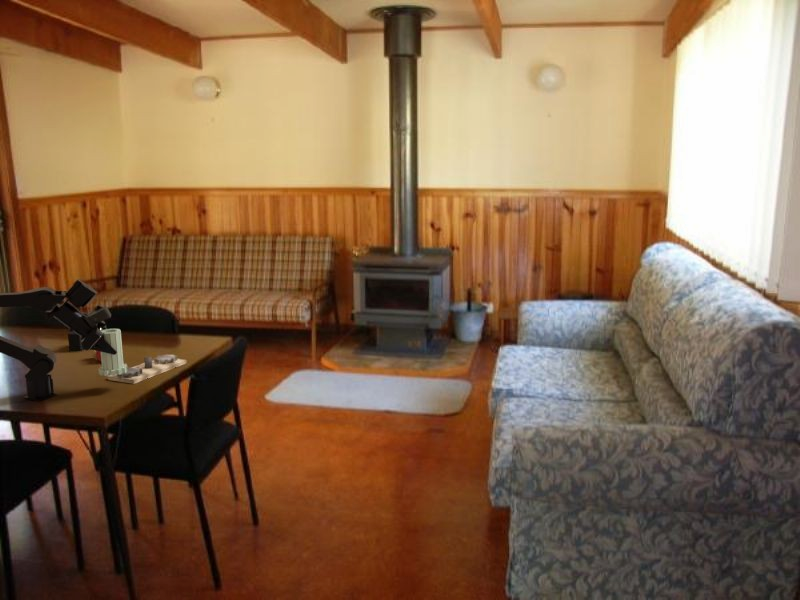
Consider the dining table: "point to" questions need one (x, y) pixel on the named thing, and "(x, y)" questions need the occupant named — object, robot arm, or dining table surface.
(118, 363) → the gear sleeve
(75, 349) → the digital camera
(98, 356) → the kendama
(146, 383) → the dining table surface
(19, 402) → the dining table surface
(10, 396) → the dining table surface
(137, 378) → the gear board
